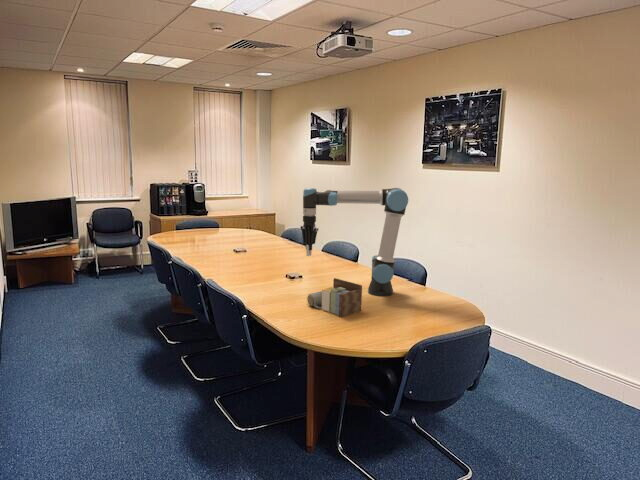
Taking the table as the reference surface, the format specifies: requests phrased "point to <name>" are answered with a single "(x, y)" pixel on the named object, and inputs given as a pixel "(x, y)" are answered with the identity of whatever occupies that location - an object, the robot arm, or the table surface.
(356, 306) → the brown wooden box
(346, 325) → the table surface
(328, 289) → the ochre book
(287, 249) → the table surface
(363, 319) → the table surface
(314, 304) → the ceramic mug
